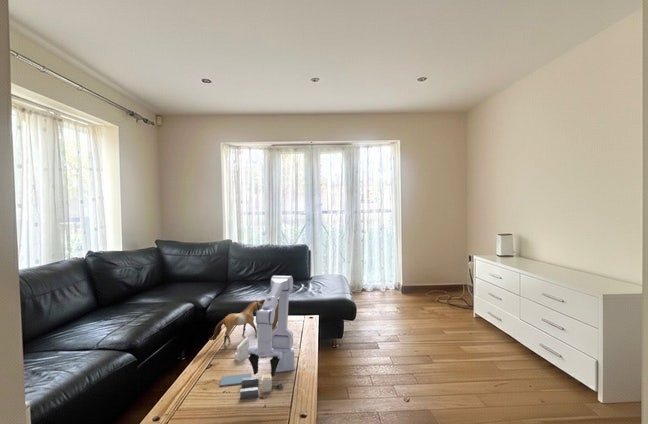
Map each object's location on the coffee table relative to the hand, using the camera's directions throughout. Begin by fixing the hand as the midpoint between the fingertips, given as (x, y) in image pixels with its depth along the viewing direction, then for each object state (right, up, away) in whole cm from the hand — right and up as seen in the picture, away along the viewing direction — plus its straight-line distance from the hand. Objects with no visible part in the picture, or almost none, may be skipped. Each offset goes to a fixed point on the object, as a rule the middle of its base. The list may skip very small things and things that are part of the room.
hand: (264, 374), depth 121 cm
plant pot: (-12, -10, +77) cm, 79 cm away
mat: (-15, -10, +14) cm, 23 cm away
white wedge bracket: (-18, -10, +34) cm, 40 cm away
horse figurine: (-28, -10, +55) cm, 62 cm away
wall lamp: (+2, -10, +7) cm, 13 cm away
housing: (-7, -10, +6) cm, 14 cm away
